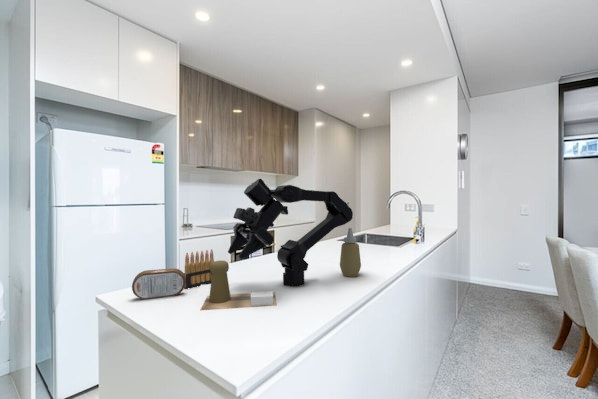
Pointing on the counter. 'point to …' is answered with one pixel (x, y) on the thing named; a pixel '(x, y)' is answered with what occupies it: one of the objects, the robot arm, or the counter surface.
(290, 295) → the counter surface
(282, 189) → the robot arm
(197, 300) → the counter surface
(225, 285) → the cork
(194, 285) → the ammunition clip
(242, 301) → the oak plank
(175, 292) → the tin
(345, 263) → the squeeze bottle
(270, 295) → the white rectangular prism
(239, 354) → the counter surface
